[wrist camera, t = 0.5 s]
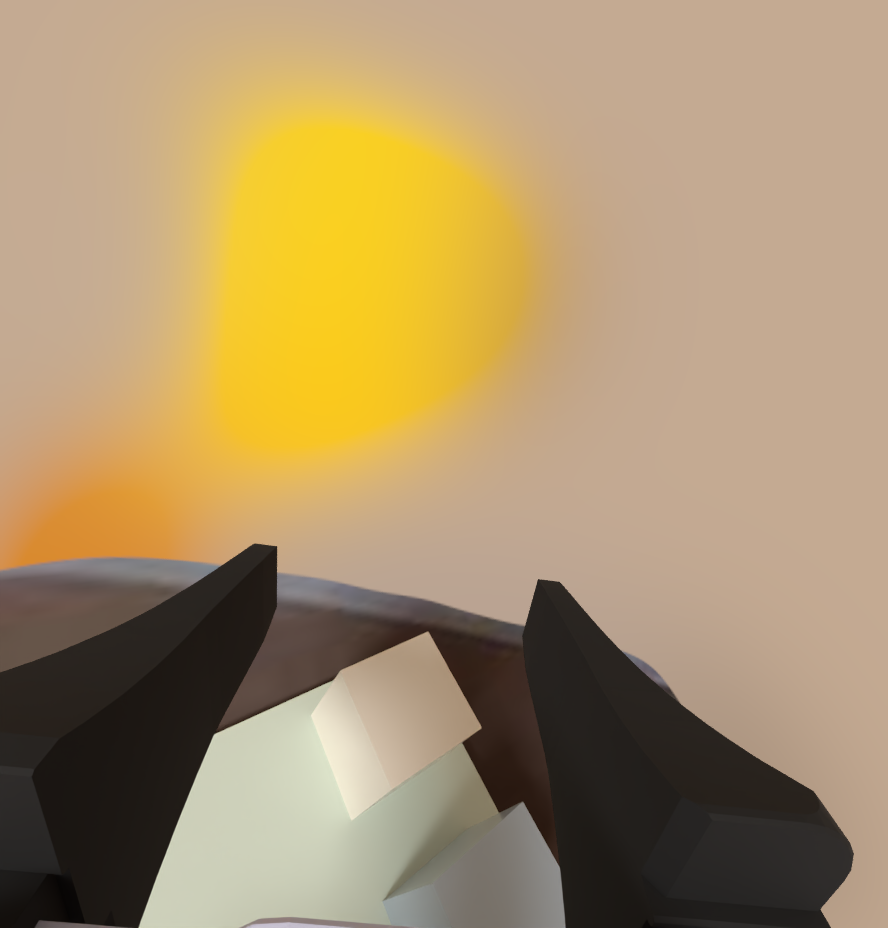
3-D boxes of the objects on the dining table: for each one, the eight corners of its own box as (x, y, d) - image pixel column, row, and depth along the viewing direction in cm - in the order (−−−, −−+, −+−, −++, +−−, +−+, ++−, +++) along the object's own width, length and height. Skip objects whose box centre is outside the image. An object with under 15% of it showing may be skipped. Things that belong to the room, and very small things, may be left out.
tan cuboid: (434, 763, 27) (481, 727, 23) (351, 820, 23) (392, 789, 20) (391, 675, 30) (428, 631, 26) (311, 715, 26) (340, 670, 22)
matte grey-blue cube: (526, 950, 23) (601, 942, 19) (441, 1056, 19) (514, 1070, 16) (466, 828, 25) (522, 801, 22) (382, 901, 22) (432, 883, 18)
